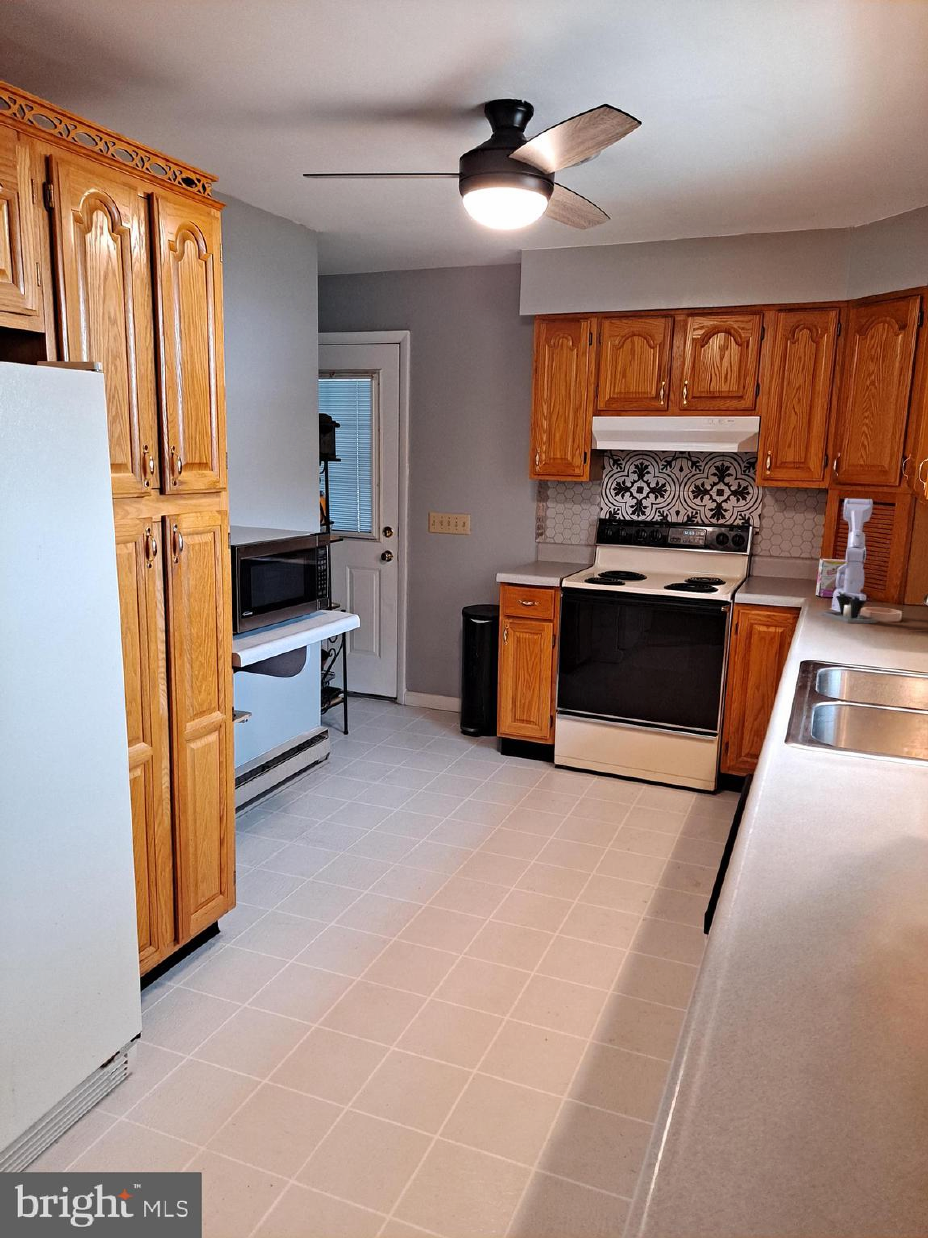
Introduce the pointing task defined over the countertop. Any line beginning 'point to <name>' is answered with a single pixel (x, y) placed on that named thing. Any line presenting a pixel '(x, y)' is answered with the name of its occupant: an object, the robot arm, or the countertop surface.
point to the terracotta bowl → (882, 613)
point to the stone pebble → (847, 612)
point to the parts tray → (857, 620)
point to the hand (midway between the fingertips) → (849, 616)
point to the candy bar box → (828, 576)
